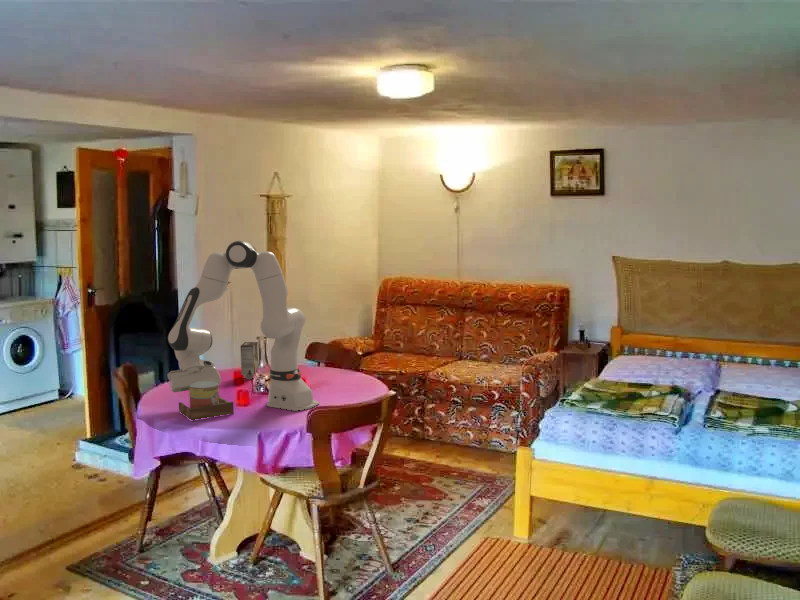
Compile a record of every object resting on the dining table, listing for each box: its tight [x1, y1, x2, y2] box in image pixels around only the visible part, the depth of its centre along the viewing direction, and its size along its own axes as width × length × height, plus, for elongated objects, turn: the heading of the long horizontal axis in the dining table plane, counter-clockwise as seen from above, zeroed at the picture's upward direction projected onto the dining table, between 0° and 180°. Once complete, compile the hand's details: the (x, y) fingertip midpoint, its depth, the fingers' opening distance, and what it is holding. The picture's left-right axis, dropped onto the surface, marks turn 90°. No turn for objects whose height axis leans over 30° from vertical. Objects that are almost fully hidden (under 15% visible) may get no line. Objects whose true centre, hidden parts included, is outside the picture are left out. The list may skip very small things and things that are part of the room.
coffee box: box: [240, 341, 259, 380], centre depth 360 cm, size 9×6×16 cm
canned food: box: [188, 381, 220, 408], centre depth 300 cm, size 11×11×12 cm
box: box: [178, 396, 235, 420], centre depth 301 cm, size 14×17×5 cm
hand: (200, 397), depth 305 cm, fingers closed
